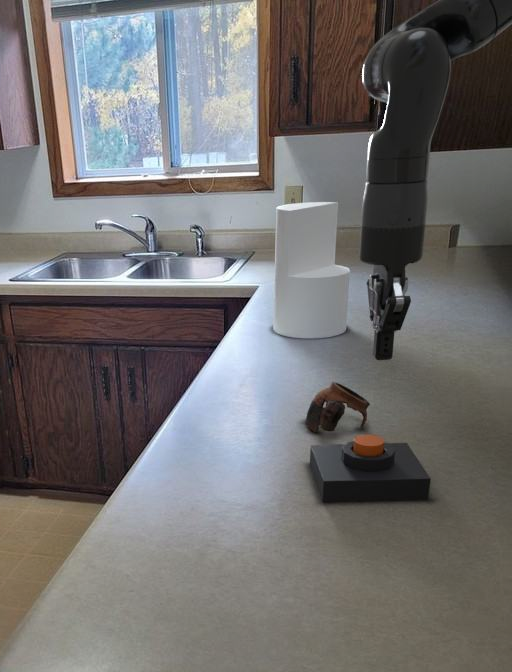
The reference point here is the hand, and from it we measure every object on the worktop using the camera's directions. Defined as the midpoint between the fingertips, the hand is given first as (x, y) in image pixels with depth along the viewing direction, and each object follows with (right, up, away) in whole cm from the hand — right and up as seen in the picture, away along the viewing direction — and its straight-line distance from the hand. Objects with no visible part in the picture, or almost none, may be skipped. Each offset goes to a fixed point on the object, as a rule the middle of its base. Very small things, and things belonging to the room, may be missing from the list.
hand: (382, 358), depth 98 cm
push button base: (0, -16, +7) cm, 18 cm away
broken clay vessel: (0, -8, +25) cm, 26 cm away
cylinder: (+8, +20, +81) cm, 84 cm away
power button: (0, -12, +5) cm, 13 cm away
